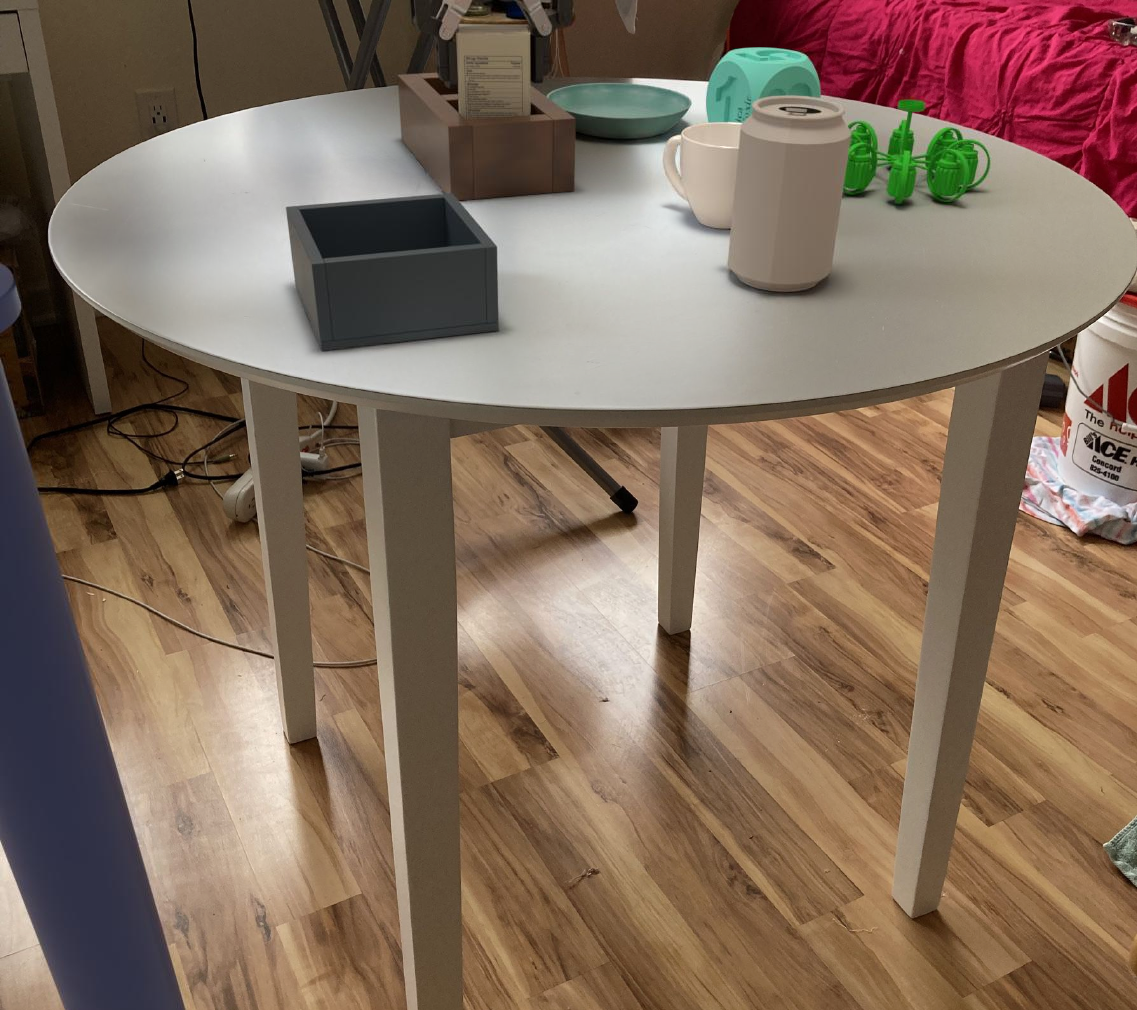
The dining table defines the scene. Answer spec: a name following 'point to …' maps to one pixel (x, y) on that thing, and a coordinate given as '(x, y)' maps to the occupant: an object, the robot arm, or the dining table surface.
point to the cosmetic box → (493, 70)
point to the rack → (486, 143)
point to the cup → (706, 170)
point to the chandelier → (941, 157)
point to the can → (788, 192)
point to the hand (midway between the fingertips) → (493, 83)
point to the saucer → (621, 109)
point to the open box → (393, 270)
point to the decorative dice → (757, 81)
